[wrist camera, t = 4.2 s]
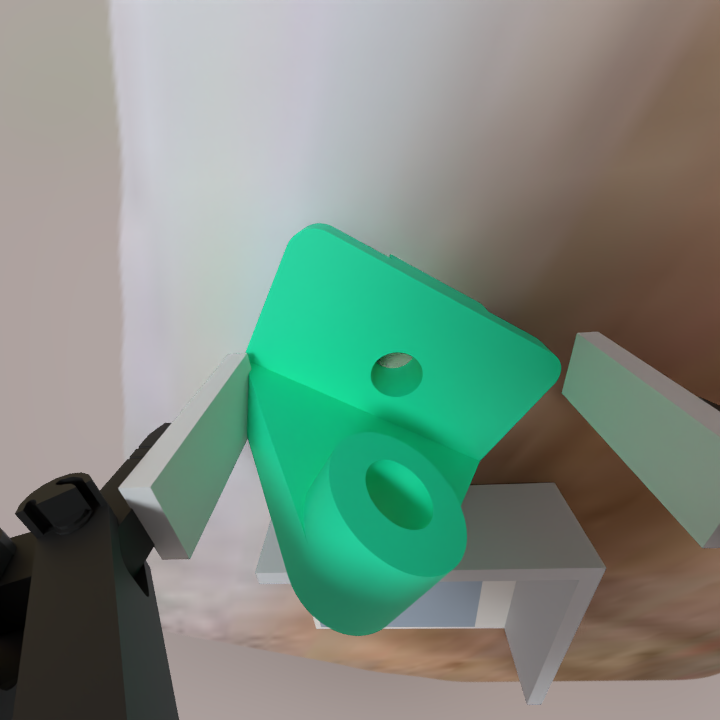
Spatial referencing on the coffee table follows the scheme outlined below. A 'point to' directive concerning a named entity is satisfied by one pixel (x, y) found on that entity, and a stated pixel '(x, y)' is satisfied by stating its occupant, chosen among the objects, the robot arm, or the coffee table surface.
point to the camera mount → (376, 422)
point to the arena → (504, 577)
